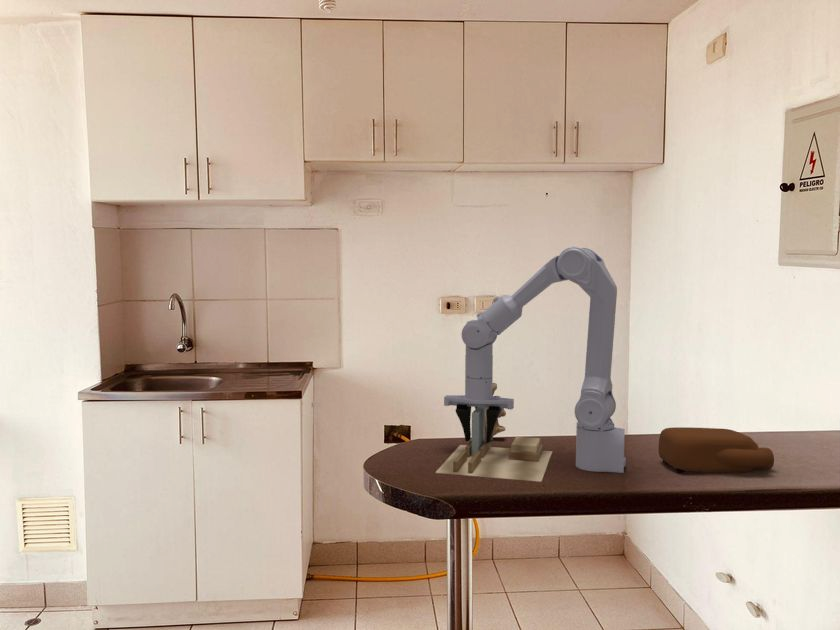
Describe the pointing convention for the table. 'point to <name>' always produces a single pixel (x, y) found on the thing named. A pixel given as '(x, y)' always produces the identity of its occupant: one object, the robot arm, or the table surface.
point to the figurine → (502, 413)
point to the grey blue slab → (478, 429)
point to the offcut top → (525, 445)
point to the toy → (712, 450)
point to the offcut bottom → (525, 455)
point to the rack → (493, 464)
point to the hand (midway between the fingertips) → (478, 440)
